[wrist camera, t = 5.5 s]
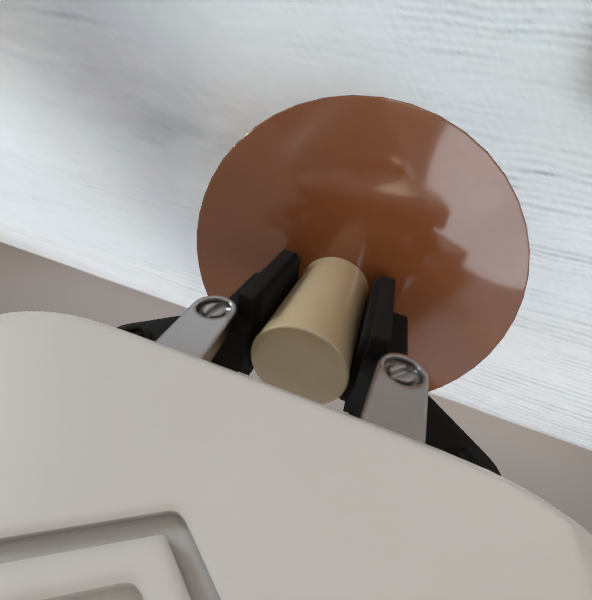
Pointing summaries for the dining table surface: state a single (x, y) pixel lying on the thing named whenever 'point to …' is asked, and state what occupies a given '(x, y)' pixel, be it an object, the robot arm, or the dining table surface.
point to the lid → (366, 237)
